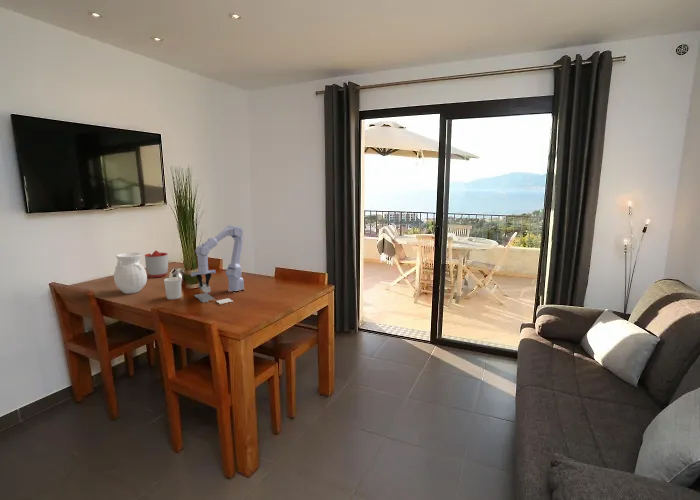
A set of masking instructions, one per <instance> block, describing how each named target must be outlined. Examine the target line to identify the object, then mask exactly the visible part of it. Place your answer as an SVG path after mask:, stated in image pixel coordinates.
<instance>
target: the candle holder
mask: <svg viewBox="0 0 700 500" xmlns="http://www.w3.org/2000/svg"><path fill="white" fill-rule="evenodd" d="M163 283H164V289H165V296H166V299H167V300H177V299H181V298H182V277H180V276H174V277H172V276H170V277H167V278H164V279H163Z"/></svg>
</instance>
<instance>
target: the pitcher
mask: <svg viewBox="0 0 700 500" xmlns="http://www.w3.org/2000/svg"><path fill="white" fill-rule="evenodd" d="M141 256H142V254H141V253H138V252H124V253H123V252H122V253H119V254H117V255H116V259H117V262H116V266H115V267H114V268H115V270H114V273H113V280H114V284H115V285H116V287H117V289H118V290H120V291H121V292H122V293H123V294H126V295H127V294H128V295H129V294H135V293H138V292H140V291H141V290H142V289H144V287H145V286H146V284H147V280H148V275H147V274H148V273H147V270H146V268H145V267H144V266H143V264H142V263H141Z"/></svg>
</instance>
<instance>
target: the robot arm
mask: <svg viewBox="0 0 700 500" xmlns="http://www.w3.org/2000/svg"><path fill="white" fill-rule="evenodd" d="M243 233H244V231H243V229H242V227H240V226H238V225H231V224H229V225H227V226H226V227H224V228H223V230H221V232H219V233H218V234H217V235H216V236H215V237H208V238H207V240H206V241H205V242H204V243H201V245H197V246H196V248H195V254H196V255H197V256H196V257H197V265H198V267H197V269H198V271H194V272H190V276H191V277H195V278H196V279H197V280H198V282H199V283H200V286H201V287H202V282H203V276H205V283H206V284H207V285H209V283H210V281H211V278H212V274H216V273H217V272H216V271H217V270H216V269H209V261H208V260H209V259H208V255H209V254H210V251H211V250H212V249H214V248H216V247H217V246H218V243H219V242H220V241H222V240H223V239H224V238H226V237H228V236H230V237H232V239H233V240H234V241H233V250H232V254H231V261H230V263H229V264H228V265H227V268H226V271H225V275H226V276H227V279H228V280H227V281H228V289H229V290H228V292H229V291H238V290H242V289H244V290H245V284H244V283H245V282H244V278H243V276H242V266H241V265H240V262H241V258H242V250H243V243H244V236H243V235H244V234H243Z"/></svg>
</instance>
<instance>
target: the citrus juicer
mask: <svg viewBox="0 0 700 500" xmlns="http://www.w3.org/2000/svg"><path fill="white" fill-rule="evenodd" d="M144 259H145V270H146V273H147V274H148V275H147V276H148V277H150V278H153V279H155V278H162V277H166V276H167V275H168V270H169V259H168V253H167V252H159V251H158V250H155V251H154V252H152V254H151V253H146V254H144Z"/></svg>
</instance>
